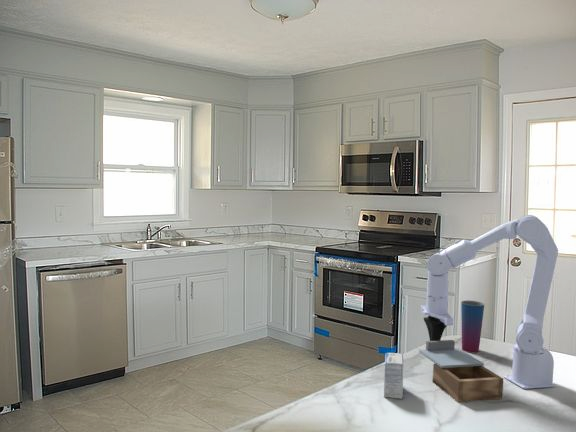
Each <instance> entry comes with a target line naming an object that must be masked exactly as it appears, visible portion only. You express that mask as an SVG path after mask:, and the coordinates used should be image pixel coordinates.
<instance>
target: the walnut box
mask: <svg viewBox="0 0 576 432" xmlns="http://www.w3.org/2000/svg"><path fill="white" fill-rule="evenodd" d="M432 365H433V370H432V383H433V384H434V383H435V384H436V385H435V384H434V385H435V386H436V387H438V388H439V389H441V390H442V391H443V390H444V391H445V392H444V391H443V392H444V393H445V394H447V395H448V396H449V395H450V396H449V397H451V398H452V399H453V400H454V399H455V400H454V401H455V402H457V403H466V401H467V402H477V401H478V402H480V401H481V402H482V401H493V400H503V394H504V378H503V377H502V376H500V375H498V374H496V373H494V372H493V371H491V370H490V369H488V368H486V367H485V366H468V367H452V368H441V367H439V366H438V365H437V364H435V363H433V364H432Z"/></svg>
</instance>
